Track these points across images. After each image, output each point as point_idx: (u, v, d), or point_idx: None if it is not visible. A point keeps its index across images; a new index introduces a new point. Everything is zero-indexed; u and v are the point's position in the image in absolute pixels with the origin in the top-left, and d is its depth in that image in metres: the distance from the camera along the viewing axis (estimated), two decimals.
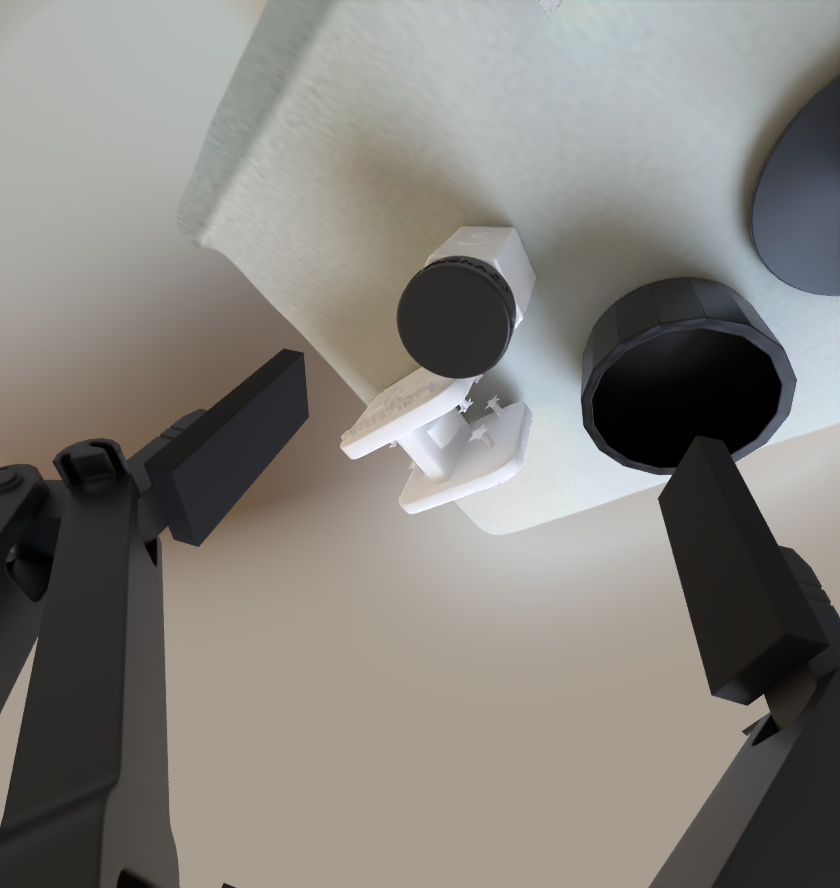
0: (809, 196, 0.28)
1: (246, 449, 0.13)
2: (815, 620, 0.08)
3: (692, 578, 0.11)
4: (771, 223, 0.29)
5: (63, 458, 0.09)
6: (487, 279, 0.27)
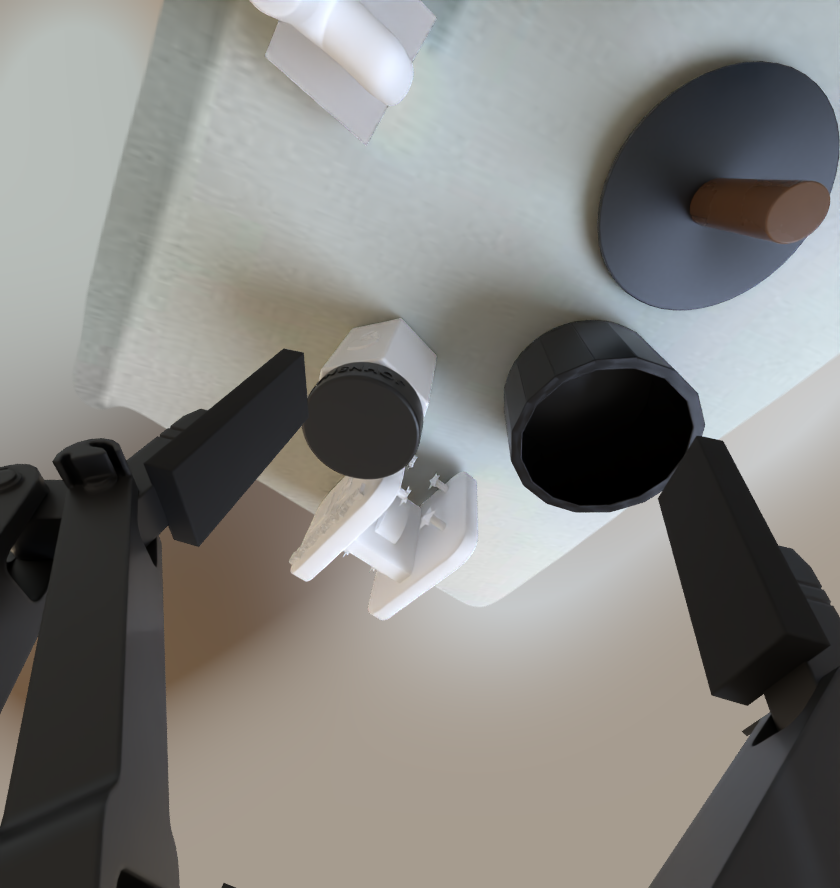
0: (646, 233, 0.30)
1: (246, 449, 0.13)
2: (815, 620, 0.08)
3: (692, 578, 0.11)
4: (624, 262, 0.31)
5: (63, 458, 0.09)
6: (378, 380, 0.27)
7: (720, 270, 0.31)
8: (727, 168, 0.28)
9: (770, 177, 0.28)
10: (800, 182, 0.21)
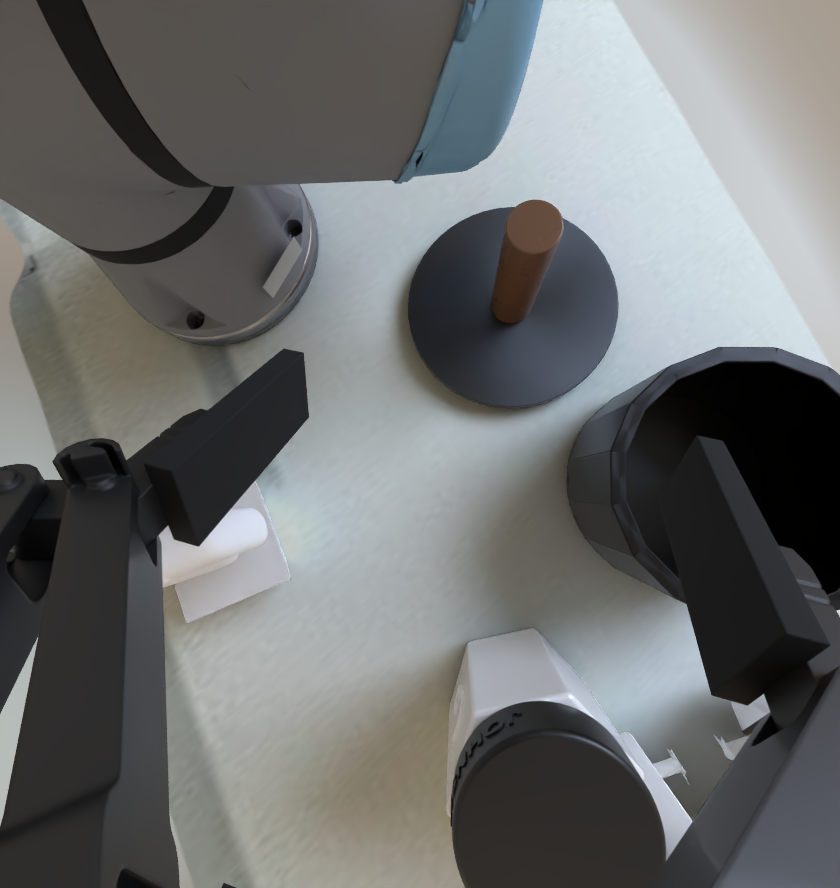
0: (509, 363, 0.29)
1: (246, 449, 0.13)
2: (815, 620, 0.08)
3: (692, 578, 0.11)
4: (526, 389, 0.29)
5: (63, 458, 0.09)
6: (489, 751, 0.17)
7: (582, 306, 0.29)
8: (488, 288, 0.30)
9: None
10: (506, 222, 0.21)
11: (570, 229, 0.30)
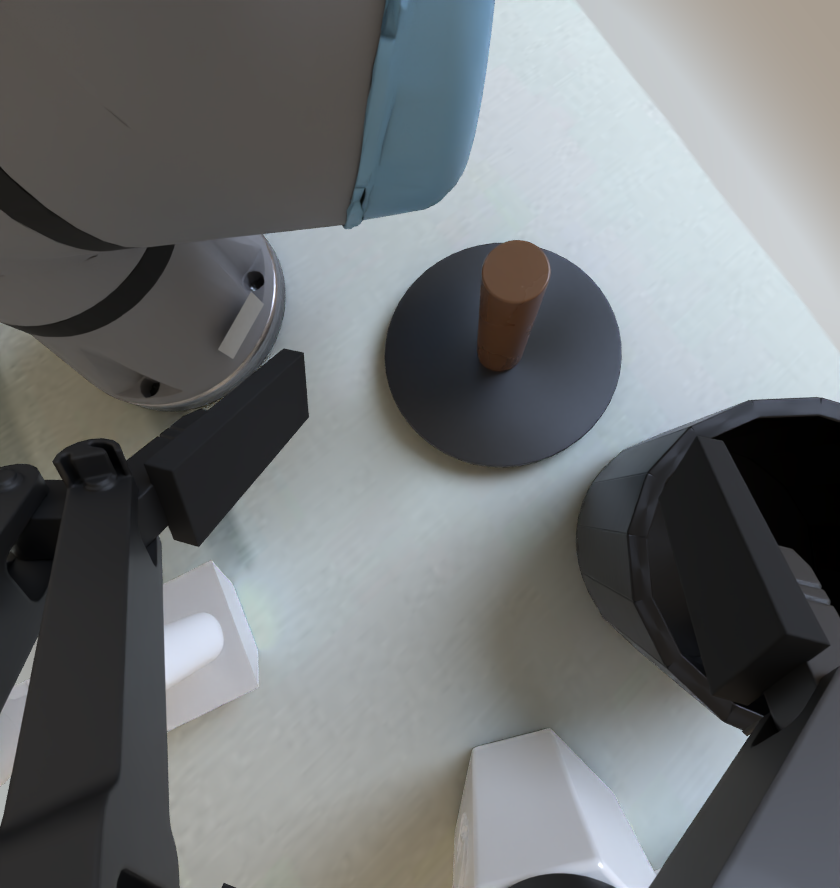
0: (501, 416, 0.26)
1: (246, 449, 0.13)
2: (815, 620, 0.08)
3: (692, 578, 0.11)
4: (523, 445, 0.25)
5: (63, 458, 0.09)
6: None
7: (580, 348, 0.26)
8: (473, 333, 0.27)
9: None
10: (482, 268, 0.18)
11: (561, 263, 0.27)
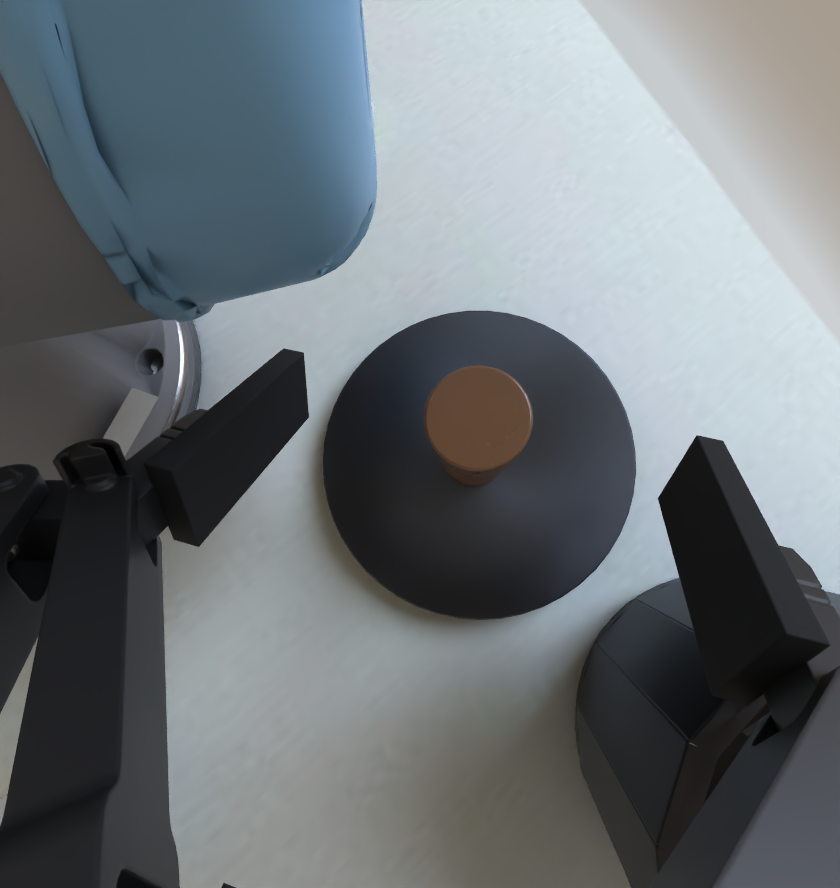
0: (475, 549, 0.19)
1: (246, 449, 0.13)
2: (815, 620, 0.08)
3: (692, 578, 0.11)
4: (504, 591, 0.19)
5: (63, 458, 0.09)
6: None
7: (579, 457, 0.19)
8: None
9: None
10: (425, 409, 0.11)
11: (555, 340, 0.20)
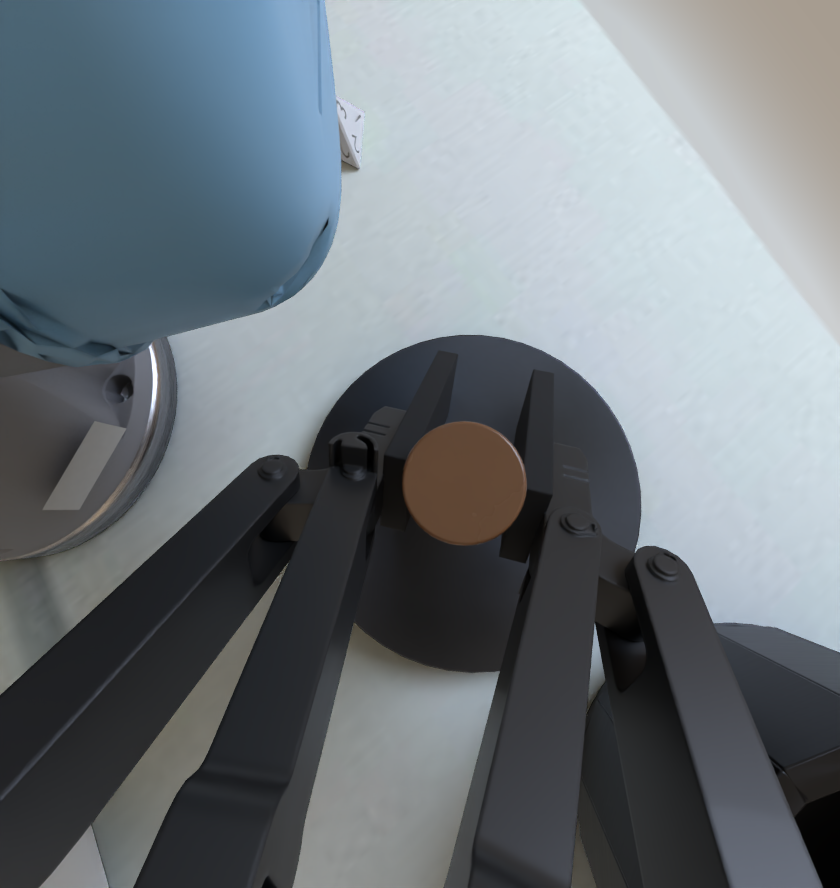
0: (466, 595, 0.18)
1: None
2: (551, 481, 0.11)
3: None
4: (497, 641, 0.17)
5: (336, 442, 0.10)
6: None
7: None
8: None
9: (467, 415, 0.19)
10: (403, 471, 0.10)
11: (554, 368, 0.19)
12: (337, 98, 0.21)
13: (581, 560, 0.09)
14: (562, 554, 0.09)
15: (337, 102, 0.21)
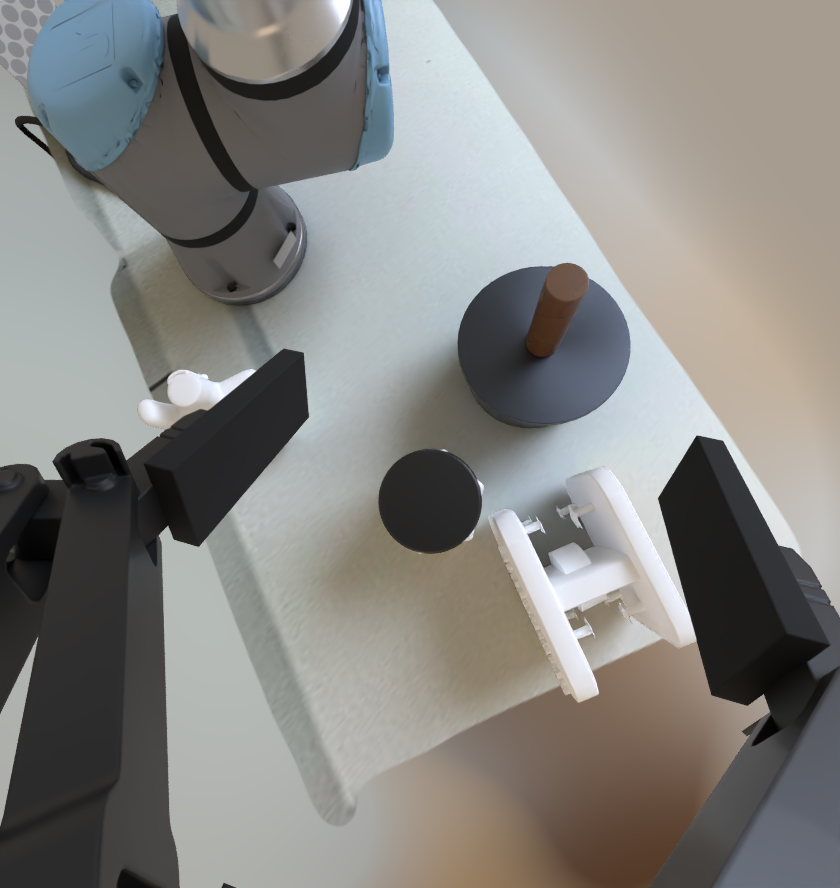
0: (548, 388, 0.36)
1: (246, 449, 0.13)
2: (815, 620, 0.08)
3: (692, 578, 0.11)
4: (566, 407, 0.35)
5: (63, 458, 0.09)
6: None
7: (600, 337, 0.36)
8: (521, 331, 0.37)
9: None
10: (545, 281, 0.28)
11: None
12: None
13: None
14: None
15: None
